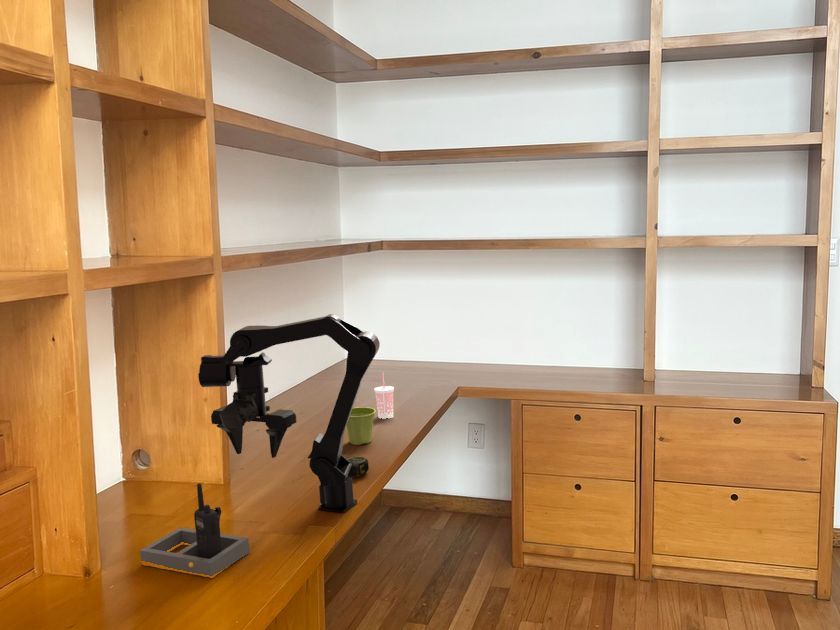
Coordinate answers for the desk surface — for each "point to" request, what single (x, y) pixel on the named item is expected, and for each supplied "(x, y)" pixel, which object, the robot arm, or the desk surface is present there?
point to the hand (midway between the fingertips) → (256, 455)
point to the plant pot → (360, 425)
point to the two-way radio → (207, 528)
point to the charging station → (194, 552)
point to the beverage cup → (384, 400)
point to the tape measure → (358, 466)
